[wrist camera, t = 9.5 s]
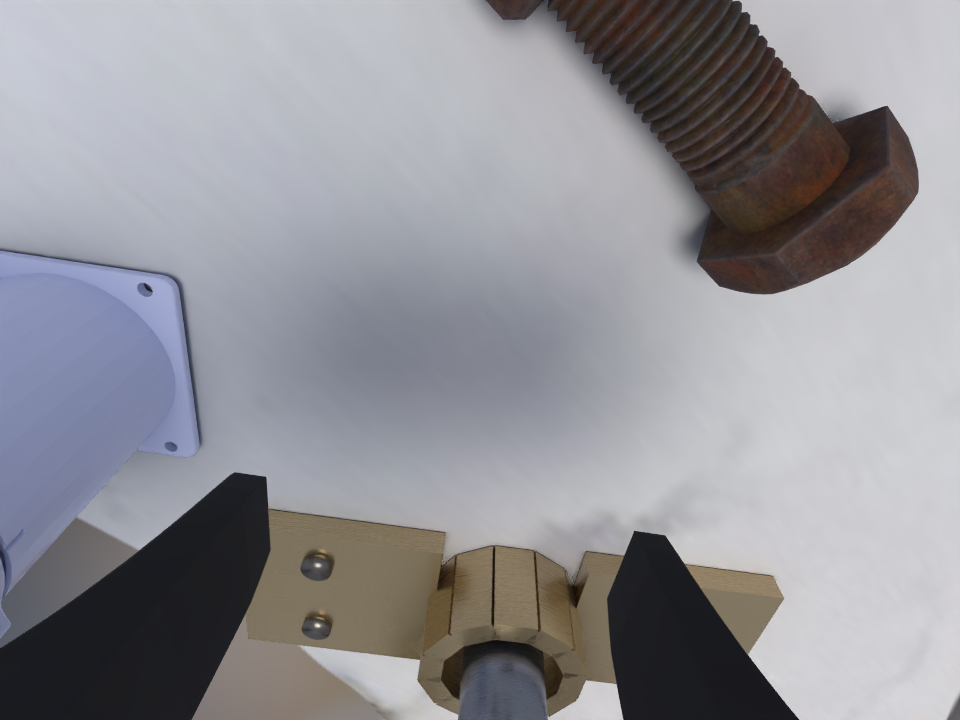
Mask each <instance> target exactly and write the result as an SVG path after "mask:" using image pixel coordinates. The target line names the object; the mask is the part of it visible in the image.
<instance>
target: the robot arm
mask: <svg viewBox="0 0 960 720" xmlns="http://www.w3.org/2000/svg"><path fill="white" fill-rule="evenodd" d="M144 283H146V284H148V285H149V286H150V287H151V288H152V290H153V292H150V291H148V290H147V289H146V288H145V287H144ZM171 442H173V443H175V444H176V445H177V446H176V445H173V444H172V443H171ZM199 446H200V444H199V436H198V429H197V421H196V414H195V406H194V398H193V391H192V383H191V376H190V368H189V361H188V353H187V346H186V338H185V331H184V323H183V316H182V308H181V301H180V293H179V288H178V286H177V284H176V283H175V281H174V280H172V279H171V278H170V277H168V276H164V275H160V274H153V273H146V272H140V271H133V270H126V269H119V268H113V267H106V266H99V265H93V264H86V263H79V262H73V261H66V260H59V259H53V258H46V257H39V256H33V255H26V254H19V253H12V252H6V251H0V638H1V637H2V636H3V634H4V633H5V632H6V631H7V630H8V628H9V627H10V626H11V624H10V621H9V620H8V619H7V617H6V616H5V614H4V612H3V610H2V608H1V600H2V599H3V597H4V596H6V594H7V593H8V592H9V591H10V590H11V589H12V588H13V587H14V585H15V584H16V583H17V582H18V581H19V580H20V579H21V578H22V577H23V576H24V574H25V573H26V572H27V571H28V570H29V569H30V568H31V567H32V566H33V564H34V563H35V562H36V561H37V560H38V559H39V558H40V557H41V555H42V554H43V553H44V552H45V551H46V550H47V549H48V548H49V546H50V545H51V544H52V543H53V542H54V541H55V540H56V539H57V538H58V537H59V535H60V534H61V533H62V532H63V531H64V530H65V529H66V528H67V527H68V525H69V524H70V523H71V522H72V521H73V520H74V519H75V518H76V517H77V515H78V514H79V513H80V512H81V511H82V510H83V509H84V508H85V507H86V505H87V504H88V503H89V502H90V501H91V500H92V499H93V498H94V497H95V495H96V494H97V493H98V492H99V491H100V490H101V489H102V488H103V487H104V485H105V484H106V483H107V482H108V481H109V480H110V479H111V478H112V477H113V475H114V474H115V473H116V472H117V471H118V470H119V469H120V468H121V467H122V465H123V464H124V463H125V462H126V461H127V460H128V459H129V458H130V457H131V455H132V454H133V453H134V452H135V451H136V450H137V451H145V452H152V453H160V454H167V455H174V456H182V457H191V456H193V455H194V454H195V453H196V452H197V450H198V449H199ZM270 551H271V546H270V530H269V514H268V497H267V481H266V477H263V476H256V475H249V474H243V473H236V472H234V473H233V474H231V475H230V476H229V477H227V478H226V479H225V480H224V481H223V482H221V483H220V484H219V485H218V486H217V487H216V488H214V489H213V490H212V491H211V492H210V493H209V494H207V495H206V496H205V497H204V498H203V499H202V500H200V501H199V502H198V503H197V504H196V505H194V506H193V507H192V508H191V509H190V510H189V511H187V512H186V513H185V514H184V515H183V516H181V517H180V518H179V519H178V520H177V521H175V522H174V523H173V524H172V525H171V526H169V527H168V528H167V529H166V530H164V531H163V532H162V533H161V534H159V535H158V536H157V537H156V538H154V539H153V540H152V541H151V542H149V543H148V544H147V545H146V546H144V547H143V548H142V549H141V550H139V551H138V552H137V553H136V554H134V555H133V556H132V557H130V558H129V559H128V560H127V561H125V562H124V563H123V564H121V565H120V566H119V567H117V568H116V569H115V570H113V571H112V572H110V573H109V574H108V575H106V576H105V577H104V578H102V579H101V580H100V581H99V582H97V583H96V584H94V585H93V586H92V587H90V588H89V589H88V590H86V591H85V592H84V593H82V594H81V595H80V596H78V597H76V598H75V599H74V600H72V601H71V602H69V603H68V604H66V605H65V606H64V607H62V608H61V609H60V610H58V611H56V612H55V613H53V614H52V615H51V616H49V617H48V618H46V619H45V620H43V621H42V622H40V623H39V624H37V625H36V626H34V627H33V628H31V629H30V630H28V631H26V632H25V633H23V634H22V635H20V636H19V637H17V638H16V639H14V640H13V641H11V642H9V643H8V644H6V645H5V646H3V647H2V648H0V720H192V718H193V716H194V714H195V712H196V710H197V707H198V706H199V704H200V702H201V700H202V698H203V696H204V694H205V692H206V690H207V688H208V686H209V684H210V682H211V681H212V679H213V677H214V675H215V673H216V671H217V669H218V667H219V665H220V663H221V661H222V659H223V657H224V655H225V653H226V651H227V649H228V647H229V645H230V643H231V641H232V640H233V638H234V636H235V633H236V631H237V630H238V627H239V626H240V624H241V622H242V620H243V617H244V615H245V614H246V612H247V610H248V608H249V606H250V604H251V602H252V599H253V596H254V594H255V591H256V589H257V586H258V584H259V581H260V578H261V576H262V573H263V570H264V567H265V565H266V562H267V559H268V556H269V554H270ZM607 606H608V622H609V635H610V647H611V655H612V661H613V667H614V672H615V677H616V683H617V688H618V694H619V699H620V704H621V709H622V714H623V720H799V719H798V718H797V717H796V715H795V714H794V713H793V712H792V711H791V709H790V708H789V707H788V706H787V705H786V703H785V702H784V701H783V700H782V698H781V697H780V696H779V695H778V693H777V692H776V691H775V689H774V688H773V687H772V686H771V684H770V683H769V682H768V681H767V679H766V678H765V677H764V675H763V674H762V673H761V672H760V670H759V669H758V668H757V666H756V665H755V664H754V662H753V661H752V660H751V658H750V657H749V656H748V654H747V653H746V652H745V650H744V649H743V648H742V646H741V645H740V643H739V642H738V641H737V639H736V638H735V637H734V635H733V634H732V632H731V631H730V630H729V628H728V627H727V625H726V624H725V623H724V621H723V620H722V618H721V617H720V616H719V614H718V613H717V611H716V610H715V608H714V607H713V606H712V604H711V603H710V601H709V600H708V598H707V597H706V595H705V594H704V592H703V591H702V589H701V588H700V586H699V585H698V584H697V582H696V581H695V579H694V578H693V576H692V575H691V573H690V572H689V570H688V569H687V567H686V566H685V564H684V563H683V561H682V560H681V558H680V557H679V555H678V554H677V552H676V551H675V549H674V548H673V546H672V545H671V543H670V542H669V540H668V539H667V538H666V536H665V535H658V534H651V533H645V532H638V531H634V533H633V536H632V538H631V541H630V543H629V546H628V548H627V551H626V553H625V555H624V558H623V560H622V563H621V565H620V568H619V570H618V573H617V575H616V577H615V580H614V582H613V585H612V587H611V590H610V592H609V595H608V597H607Z"/></svg>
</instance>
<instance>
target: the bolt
mask: <svg viewBox="0 0 960 720" xmlns="http://www.w3.org/2000/svg"><path fill="white" fill-rule="evenodd" d="M486 1H487V2H488V3H489V4H490V5H491V6H492V7H493V9H494V10H495V11H496V12H497V13H498V14H499V15H500V16H501V18H502V19H503V20H518V19H526V18H528V17H529V16H530V15H531V14H532V13H533V11H534V10H535V9H536V8H537V7H538V6H539V5H540V4H541V3H542V2H543V1H544V0H486ZM556 9H558V15H557V21H564V20H567V28H566V32H571V31H577V32H576V39H575V43H578V42H584V41H585V47H584V54H587V53H592V52H594V57H593V62H592V63H593V64H597V63H602V62H603V67H602V74H603V75H604V74H609V73H612V74H611V79H610V83H611V85H614V84H618V83H620V84H619V88H618V93H619V94H620V95H622V94H625V93H628V94H627V98H626V103H627V104H633V103H636V104H635V108H634V113H635V114H637V113H642V112H643V116H642V121H643V123H649V122H651V125H650V131H651V133H657V132H659V133H658V137H657V139H658V141H659V142H661V143H666V145H665V148H666V150H667V152H672V153H673V155H672V156H673V157H674V159H675V160H676V161H677V162H680V166H681V168H682V169H683V170H686V171H687V173H688V176H689V177H690V178H691V180H692V181H693V182H694V183H695V189H696V191H697V192H698V193H699V194H700V196H701V197H702V198H703V199H704V200H705V202H706V203H707V204H708V205H709V206H710V208H711V209H712V210H711V213H710V217H709V220H708V224H707V227H706V231H705V234H704V238H703V242H702V245H701V249H700V252H699V256H698V259H697V263H698V264H699V265H700V266H701V267H702V268H703V269H704V270H705V271H706V272H707V273H708V275H709V276H710V277H711V278H712V279H713V280H714V281H715V282H716V283H717V284H718V285H719V286H720V287H724V288H728V289H731V290H735V291H739V292H745V293H751V294H775V293H778V292H782V291H786V290H789V289H792V288H795V287H798V286H800V285H803V284H806V283H809V282H811V281H813V280H815V279H818V278H820V277H822V276H824V275H827V274H829V273H831V272H833V271H836V270H838V269H840V268H842V267H844V266H847V265H848V264H850V263H851V262H853V261H854V260H856V259H857V258H859V257H860V256H862V255H863V254H864V253H866V252H867V251H868V250H869V249H871V248H872V247H873V246H874V245H876V244H877V243H878V242H879V241H880V240H881V239H882V237H883V236H884V235H885V234H886V233H887V232H888V231H889V230H890V229H891V228H892V227H893V226H894V225H895V224H896V222H897V221H898V220H899V218H900V217H901V216H902V215H903V213H904V212H905V211H906V209H907V208H908V207H909V205H910V204H911V203H912V201H913V200H914V199H915V197H916V195H917V194H918V189H919V179H918V168H917V164H916V160H915V156H914V153H913V150H912V147H911V144H910V141H909V138H908V136H907V135H906V133H905V132H904V130H903V129H902V127H901V126H900V124H899V123H898V121H897V120H896V118H895V116H894V115H893V113H892V112H891V110H890V109H889V107H888V106H884V107H881V108H878V109H875V110H872V111H869V112H866V113H863V114H860V115H857V116H854V117H851V118H848V119H845V120H842V121H839V122H836V123H833V124H832V122H831V121H830V120H829V118H828V117H827V115H826V114H825V113H824V111H823V110H822V108H821V107H820V106H819V104H818V103H817V101H816V100H815V99H814V98H813V97H812V96H809V95H807V94H806V93H805V91H803V90H801V89H799V84H798V83H797V82H796V81H795V80H794V79H793V78H791V72H790V71H788V70H787V69H786V68H783V62H782V61H781V60H780V59H779V58H778V57H775V50H774V49H773V48H770V47H767V42H768V41H767V40H766V39H765V38H764V37H763V36H759V32H760V31H759V29H758V26H757V25H752V24H750V15H749V14H748V13H747V12H743V13H741V10H742V3H741V2H740V1H733V2H732V0H549V2H548V11H549V10H556Z"/></svg>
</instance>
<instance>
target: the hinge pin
mask: <svg viewBox="0 0 960 720" xmlns="http://www.w3.org/2000/svg"><path fill="white" fill-rule="evenodd" d="M458 720H548V717H547V702H546V687H545V672H544V657H543V651H541V650H539V649H537V648H536V647H534V646H532V645H530V644H526V643H518V642H510V641H502V640H491V641H486V642H482V643H477V644H472V645H467V646H464V647H463V652H462V668H461V683H460V699H459V714H458Z"/></svg>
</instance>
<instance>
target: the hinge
mask: <svg viewBox="0 0 960 720" xmlns="http://www.w3.org/2000/svg"><path fill="white" fill-rule="evenodd" d="M268 514H269V530H270V546H271V551H270V554H269V556H268V559H267V562H266V565H265V567H264V570H263V573H262V576H261V578H260V581H259V584H258V586H257V589H256V591H255V594H254V596H253V599H252V602H251V604H250V606H249V608H248V610H247V612H246V621H247V630H248V638H249V639H255V640H263V641H271V642H279V643H287V644H295V645H303V646H312V647H320V648H328V649H336V650H344V651H352V652H361V653H369V654H377V655H385V656H393V657H401V658H409V659H418V660H420V665H419V672H418V679H417V680H418V682H419V683H420V685H421V686H422V687H423V689H424V690H425V691H426V693H427V694H428V695H429V697H430V698H431V699H432V701H433V702H434V703H436V705H439V706H441V707H443V708H445V709H447V710H449V711H451V712H453V713H456V714H459V699H460V683H461V668H462V652H463V647H464V646H467V645H472V644H477V643H482V642H486V641H491V640H502V641H510V642H518V643H526V644H530V645H532V646H534V647H536V648H537V649H539V650H541V651H543V657H544V672H545V687H546V702H547V716H549V717H550V716H552V715H553V714H555V713H556V712H558V711H560V710H561V709H563V708H565V707H566V706H568V705H570V704H571V703H573V702H575V701H576V699H578V697H579V695H580V693H581V690H582V688H583V685H584V683H585V681H586V680H589V681H597V682H605V683H613V684H617V683H616V677H615V672H614V667H613V661H612V655H611V647H610V635H609V622H608V606H607V597H608V595H609V592H610V590H611V587H612V585H613V582H614V580H615V577H616V575H617V573H618V570H619V568H620V565H621V563H622V560H623V558H624V557H623V556H615V555H608V554H600V553H593V552H586V553H585V556H584V559H583V561H582V564H581V567H580V570H579V573H578V576H577V578H576V581H575V584H574V587H573V585H572V583H571V580H570V578H569V576H568V574H567V572H566V570H564V568H562V567H561V566H559V565H557V564H556V563H554V562H552V561H551V560H549V559H547V558H546V557H544V556H542V555H541V554H539V553H537V552H535V553H534V551H531V550H524V549H516V548H509V547H501V546H495V549H494V547H493V546H490V547H486V548H482V549H478V550H474V551H470V552H466V553H462V554H458V555H457V557H456V556H454V557H453V558H452V559H451V560H450V561H448V562H447V563H446V564H445V565H444V566H443V567H442V568H441V562H442V556H443V548H444V539H445V533H442V532H434V531H427V530H419V529H412V528H404V527H397V526H389V525H382V524H374V523H367V522H359V521H352V520H344V519H336V518H329V517H321V516H314V515H306V514H299V513H291V512H284V511H276V510H269V509H268ZM685 566H686V567H687V569H688V570H689V572H690V573H691V575H692V576H693V578H694V579H695V581H696V582H697V584H698V585H699V586H700V588H701V589H702V591H703V592H704V594H705V595H706V597H707V598H708V600H709V601H710V603H711V604H712V606H713V607H714V608H715V610H716V611H717V613H718V614H719V616H720V617H721V618H722V620H723V621H724V623H725V624H726V625H727V627H728V628H729V630H730V631H731V632H732V634H733V635H734V637H735V638H736V639H737V641H738V642H739V643H740V645H741V646H742V648H743V649H744V650H745V652H746V653H747V654H748V653H749V652H750V650H751V649H752V647H753V646H754V644H755V643H756V641H757V640H758V638H759V637H760V635H761V633H762V632H763V630H764V629H765V627H766V626H767V624H768V623H769V621H770V620H771V618H772V617H773V615H774V613H775V612H776V610H777V609H778V607H779V606H780V604H781V603H782V601H783V600H784V597H783V595H782V593H781V591H780V589H779V587H778V585H777V583H776V581H775V579H774V577H773V576H766V575H758V574H751V573H743V572H736V571H728V570H721V569H713V568H706V567H698V566H691V565H685Z"/></svg>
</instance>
